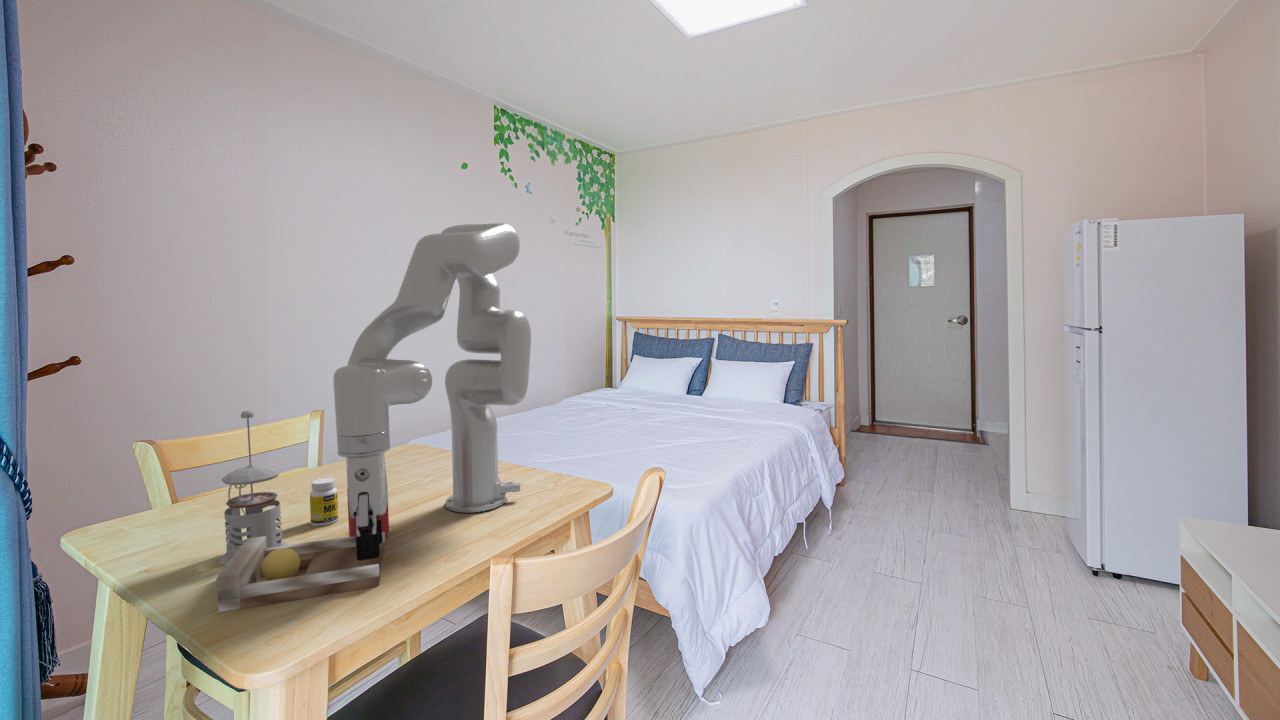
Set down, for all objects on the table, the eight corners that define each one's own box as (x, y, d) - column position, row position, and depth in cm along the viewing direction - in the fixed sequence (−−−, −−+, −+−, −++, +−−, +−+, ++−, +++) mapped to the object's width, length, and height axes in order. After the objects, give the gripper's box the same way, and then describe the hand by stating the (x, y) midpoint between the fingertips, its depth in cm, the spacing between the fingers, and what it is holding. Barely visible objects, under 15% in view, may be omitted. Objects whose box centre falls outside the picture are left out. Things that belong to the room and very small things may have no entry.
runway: (385, 548, 94) (384, 521, 94) (379, 585, 81) (377, 553, 81) (249, 568, 87) (247, 538, 86) (218, 612, 74) (216, 577, 73)
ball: (298, 538, 85) (262, 550, 84) (290, 550, 81) (252, 562, 79) (307, 566, 86) (271, 579, 84) (300, 580, 81) (262, 593, 80)
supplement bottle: (325, 527, 104) (323, 485, 103) (305, 525, 104) (302, 483, 104) (344, 518, 108) (342, 477, 108) (324, 516, 109) (322, 476, 108)
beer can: (358, 531, 102) (356, 469, 101) (394, 530, 102) (392, 469, 101) (342, 546, 95) (339, 480, 94) (380, 545, 96) (378, 479, 95)
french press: (235, 571, 86) (226, 418, 84) (204, 555, 92) (194, 411, 90) (300, 549, 94) (293, 408, 92) (267, 535, 100) (260, 403, 98)
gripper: (386, 453, 79) (392, 570, 81) (392, 429, 95) (397, 528, 96) (328, 458, 76) (336, 580, 78) (345, 432, 92) (351, 534, 94)
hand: (370, 550), depth 87 cm, fingers open, 4 cm apart
